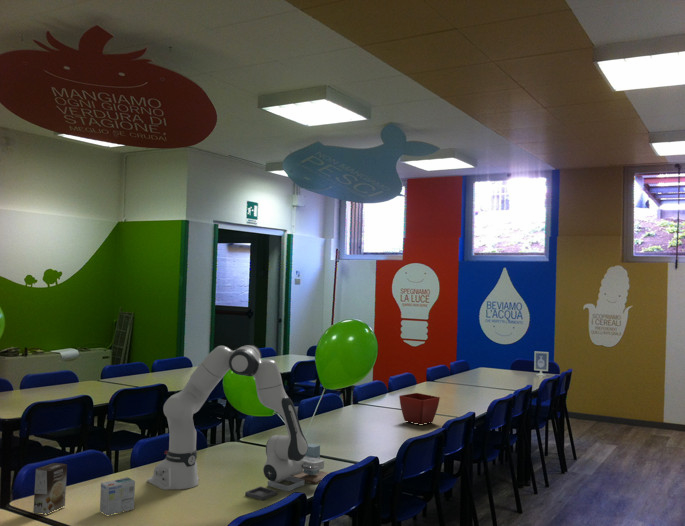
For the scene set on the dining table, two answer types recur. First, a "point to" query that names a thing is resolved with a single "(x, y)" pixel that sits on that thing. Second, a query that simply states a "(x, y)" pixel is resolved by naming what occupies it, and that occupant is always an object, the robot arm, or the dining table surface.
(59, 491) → the coffee box
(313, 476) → the walnut board
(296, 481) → the frame
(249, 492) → the tray
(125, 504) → the light bulb box
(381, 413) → the dining table surface
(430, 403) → the plant pot
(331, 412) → the dining table surface
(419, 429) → the dining table surface
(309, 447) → the blue-grey block
